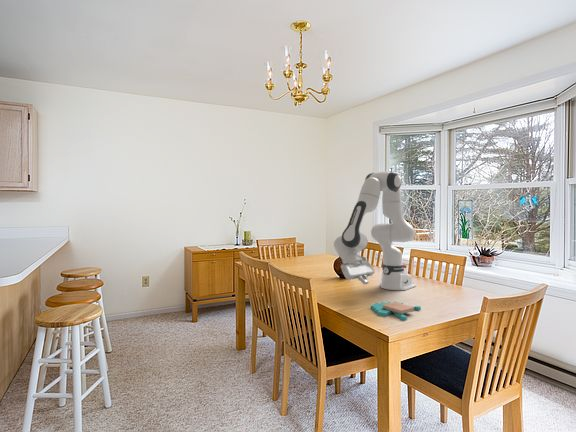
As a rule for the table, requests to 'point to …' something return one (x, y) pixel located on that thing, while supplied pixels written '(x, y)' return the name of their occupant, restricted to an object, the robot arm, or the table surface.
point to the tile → (398, 307)
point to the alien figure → (383, 312)
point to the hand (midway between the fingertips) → (366, 283)
